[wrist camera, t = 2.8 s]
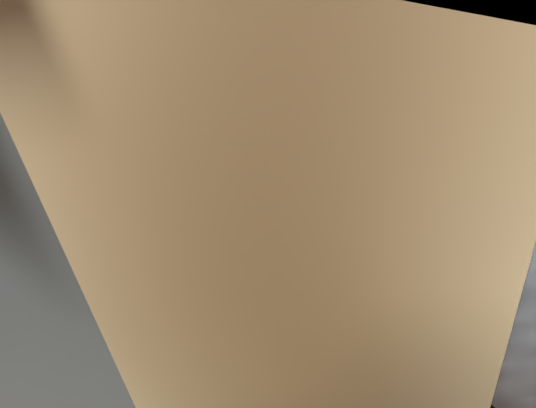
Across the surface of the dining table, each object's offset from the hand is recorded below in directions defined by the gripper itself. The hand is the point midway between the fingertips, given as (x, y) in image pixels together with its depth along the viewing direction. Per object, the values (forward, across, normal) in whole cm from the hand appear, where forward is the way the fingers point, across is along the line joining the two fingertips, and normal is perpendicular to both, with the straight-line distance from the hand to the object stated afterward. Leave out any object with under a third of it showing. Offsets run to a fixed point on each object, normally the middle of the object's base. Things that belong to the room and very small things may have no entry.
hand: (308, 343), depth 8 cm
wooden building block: (+1, 0, 0) cm, 1 cm away
